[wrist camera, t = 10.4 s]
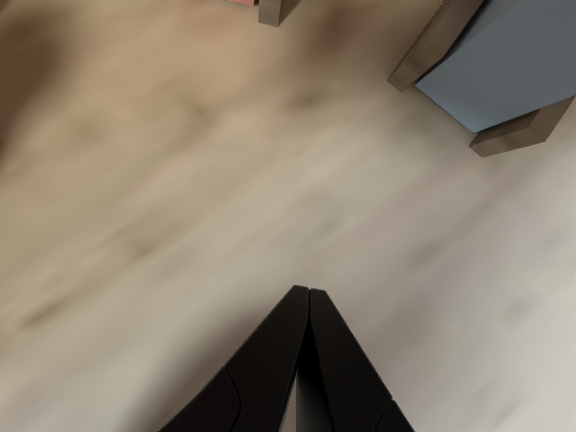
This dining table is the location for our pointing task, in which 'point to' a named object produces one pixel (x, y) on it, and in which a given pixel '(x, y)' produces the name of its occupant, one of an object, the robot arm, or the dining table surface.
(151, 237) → the dining table surface
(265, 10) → the grey-brown wooden tray
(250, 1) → the salmon pink block
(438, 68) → the blue-grey rectangular block
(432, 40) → the grey brown open box
